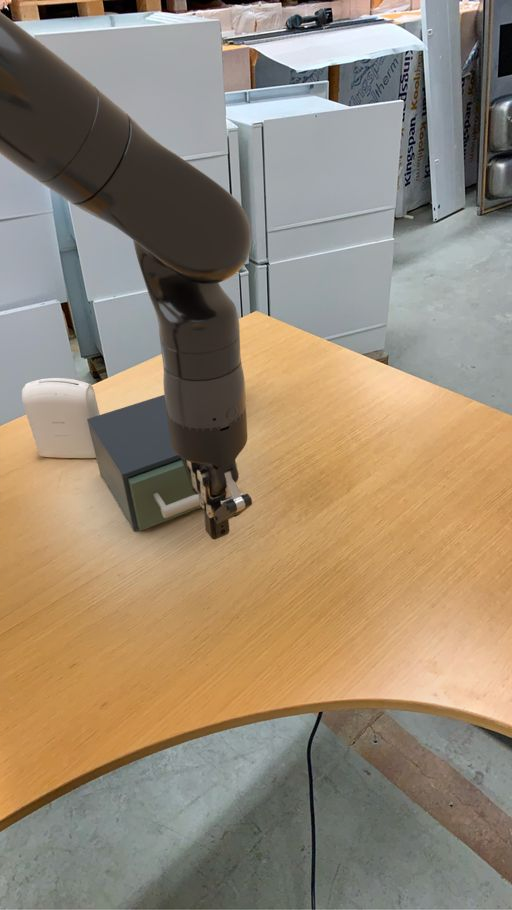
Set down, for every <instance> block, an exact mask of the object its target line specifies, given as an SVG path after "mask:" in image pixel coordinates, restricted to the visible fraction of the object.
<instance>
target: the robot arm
mask: <svg viewBox="0 0 512 910" xmlns="http://www.w3.org/2000/svg"><path fill="white" fill-rule="evenodd" d="M0 155H1V156H2V157H4V158H5V159H7V160H8V161H9V162H10V163H12V164H13V165H14V166H16V167H17V168H19V169H20V170H22V171H23V172H24V173H26V174H27V175H29V176H30V177H32V178H33V179H35V180H36V181H38V182H39V183H41V184H42V185H44V186H45V187H46V188H48V189H50V190H51V191H53V192H54V193H56V194H57V195H59V196H60V197H61V198H63V199H64V200H66V201H67V202H70V203H71V204H72V205H74V206H75V207H77V208H78V209H80V210H82V211H84V212H86V213H88V214H89V215H91V216H94V217H95V218H97V219H99V220H101V221H103V222H105V223H108V224H109V225H111V226H113V227H115V228H116V229H117V230H119V231H120V232H122V233H123V234H124V235H126V236H127V237H129V238H130V239H132V241H133V246H134V250H135V251H134V252H135V255H136V259H137V263H138V266H139V269H140V272H141V275H142V278H143V281H144V284H145V287H146V290H147V293H148V296H149V299H150V301H151V304H152V306H153V309H154V312H155V315H156V318H157V324H158V334H159V342H160V343H159V344H160V351H161V359H162V367H163V395H165V402H166V409H167V417H168V424H169V431H170V439H171V445H172V448H173V449H174V451H175V452H176V453H177V454H178V455H179V456H180V457H181V459H182V462H183V465H184V468H185V470H186V473H187V476H188V479H189V482H190V485H191V487H192V491H193V492H194V494H195V495H197V494H198V496H199V503H200V506H201V507H200V508H201V509H203V518H204V526H205V531H206V533H207V534H208V536H209V537H210V539H211V540H213V541H215V540H218V539H220V538H223V537H225V536H227V535H228V534H229V533H230V521H229V520H230V519H233V518H236V517H238V516H240V515H242V514H243V513H244V512H245V511H246V510H247V509H249V508H250V507H251V506H252V505H253V500H252V497H251V496H250V494H248V493H244V492H243V491H240V489H239V487H238V485H237V482H238V480H239V477H240V476H239V475H240V474H239V470H238V463H237V458H238V456H239V455H240V453H241V452H242V451H243V449H244V448H245V446H246V445H247V441H248V419H247V418H248V417H247V400H246V399H247V398H246V379H245V374H244V373H245V372H244V369H243V366H242V355H241V354H242V353H241V338H240V337H241V335H240V332H241V331H240V319H239V313H238V310H237V307H236V305H235V303H234V301H233V299H232V298H231V297H230V296H229V295H228V294H227V293H226V292H225V291H224V289H223V288H222V286H221V285H220V283H222V282H224V281H227V280H229V279H230V278H232V277H234V276H235V275H236V274H237V273H239V271H240V270H242V268H243V267H244V265H245V264H246V262H247V260H248V258H249V255H250V253H251V249H252V229H251V228H252V227H251V224H250V220H249V217H248V215H247V213H246V211H245V210H244V208H243V206H242V205H241V203H240V202H239V201H238V199H236V198H235V197H234V196H233V195H232V193H230V192H229V191H228V190H226V189H225V188H224V187H223V186H222V185H220V184H219V183H217V182H216V181H215V180H214V179H212V178H211V177H210V176H208V175H207V174H205V173H204V172H202V171H201V170H199V169H198V168H197V167H195V166H194V165H193V164H191V163H190V162H188V161H187V160H185V159H184V158H182V157H180V155H177V154H176V153H175V152H173V151H172V150H170V149H168V147H165V146H164V145H163V144H161V143H160V142H159V141H157V140H156V139H155V138H154V137H152V135H150V134H149V133H147V131H146V130H145V129H143V128H142V127H141V126H140V125H139V123H138V122H136V121H135V119H133V118H132V117H131V116H130V115H129V114H128V113H127V112H126V111H125V110H124V109H123V108H121V107H120V106H119V105H117V104H116V103H115V102H114V101H113V100H112V99H110V97H108V95H106V94H104V93H103V91H101V90H100V89H99V88H98V87H97V86H95V85H94V84H93V83H92V82H90V81H89V80H88V79H87V78H85V76H84V75H83V74H81V73H80V72H79V71H78V70H76V69H75V68H74V67H72V66H71V65H70V64H69V63H67V62H66V61H65V60H64V59H62V58H61V57H60V56H58V54H56V53H55V52H53V51H52V50H51V49H50V48H48V47H47V46H46V45H45V44H43V43H42V42H41V41H39V40H38V39H37V38H35V37H34V36H33V35H31V34H30V33H29V32H28V31H26V30H25V29H23V28H22V27H21V26H19V25H18V24H17V23H16V22H14V21H13V20H12V19H10V18H9V17H7V16H6V15H5V14H4V13H2V12H1V11H0Z"/></svg>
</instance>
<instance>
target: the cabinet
mask: <svg viewBox="0 0 512 910" xmlns="http://www.w3.org/2000/svg"><path fill="white" fill-rule="evenodd" d="M87 421H88V425H89V430H90V434H91V438H92V442H93V446H94V451H95V455H96V458H95V459H96V464H97V467H98V470H99V474H100V476H101V478H102V480H103V481H104V483H105V485H106V487H107V488H108V490H109V492H110V493H111V495H112V497H113V499H114V500H115V502H116V504H117V506H118V507H119V509H120V511H121V512H122V514H123V516H124V517H125V519H126V520H127V522H128V525H129V526H130V528H131V529H132V531H133V532H134V533H135V532H138V531H141V530H140V529H139V527H138V525H137V521H136V516H135V511H134V506H133V501H132V496H131V491H130V487H129V482H128V479H129V477H131V476H134V475H137V474H140V473H142V472H145V471H148V470H151V469H153V468H156V467H159V466H162V465H165V464H167V463H170V462H173V461H176V460H179V459H181V457H180V456H179V455H178V454H177V453H176V452H175V451H174V449H173V448H172V445H171V439H170V431H169V424H168V417H167V409H166V402H165V395H164V394H162V395H159V396H156V397H152V398H150V399H149V398H148V399H146V400H143V401H140V402H136V403H134V404H130V405H127V406H124V407H121V408H118V409H117V408H116V409H115V410H111V411H108V412H105V413H102V414H100V415H98V416H95V417H92V418H89V419H87Z"/></svg>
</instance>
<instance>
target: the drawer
mask: <svg viewBox="0 0 512 910" xmlns="http://www.w3.org/2000/svg"><path fill="white" fill-rule="evenodd" d="M128 482H129V487H130V491H131V496H132V501H133V506H134V511H135V516H136V521H137V525H138V527H139V529H140V530H139V531H143V530H147V529H148V528H152V527H154V526H157V525H159V524H162V523H164V522H167V521H170V520H172V519H175V518H177V517H180V516H182V515H184V514H188V513H190V512H192V511H194V510H195V511H196V510H197V509H200V508H202V507H201V506H200V503H199V496H198V494H197V495H195V494H194V492H193V491H192V487H191V485H190V482H189V479H188V476H187V473H186V470H185V468H184V465H183V462H182V459H180V460H179V461H177V462H174V463H171V464H168V465H165V466H163V467H160V468H157V469H154V470H152V471H149V472H146V473H143V474H141V473H140V474H137V475H134V476H131V477H129V479H128Z"/></svg>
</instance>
